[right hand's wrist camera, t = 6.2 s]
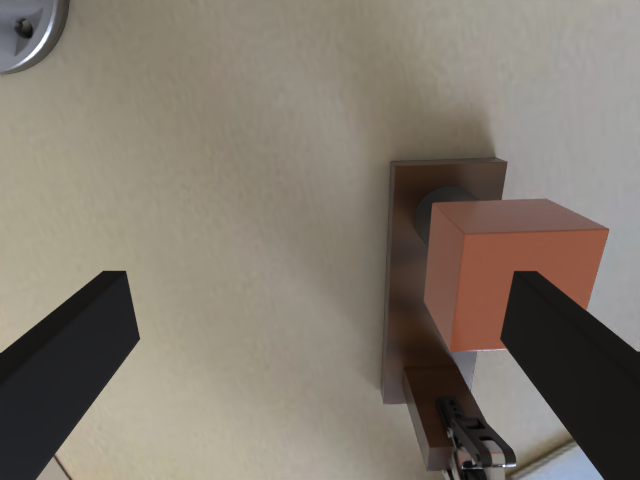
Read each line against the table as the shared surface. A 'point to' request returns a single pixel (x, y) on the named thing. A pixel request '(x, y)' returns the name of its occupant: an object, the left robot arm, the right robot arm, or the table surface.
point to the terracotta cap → (502, 262)
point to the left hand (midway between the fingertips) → (443, 413)
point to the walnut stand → (408, 297)
